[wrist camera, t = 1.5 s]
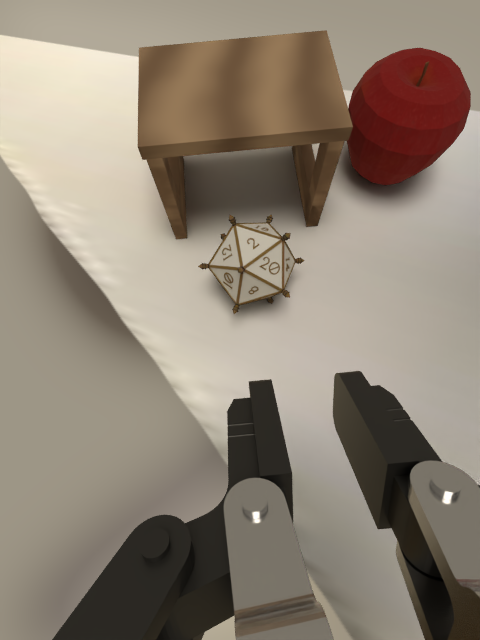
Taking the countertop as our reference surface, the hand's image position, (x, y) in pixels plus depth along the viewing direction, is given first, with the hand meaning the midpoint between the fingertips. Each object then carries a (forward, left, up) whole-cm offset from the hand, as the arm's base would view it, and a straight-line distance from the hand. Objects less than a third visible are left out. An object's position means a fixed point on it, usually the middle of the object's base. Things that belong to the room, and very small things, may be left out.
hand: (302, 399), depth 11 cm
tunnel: (0, -25, -20) cm, 32 cm away
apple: (-16, -27, -20) cm, 37 cm away
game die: (0, -14, -20) cm, 24 cm away
